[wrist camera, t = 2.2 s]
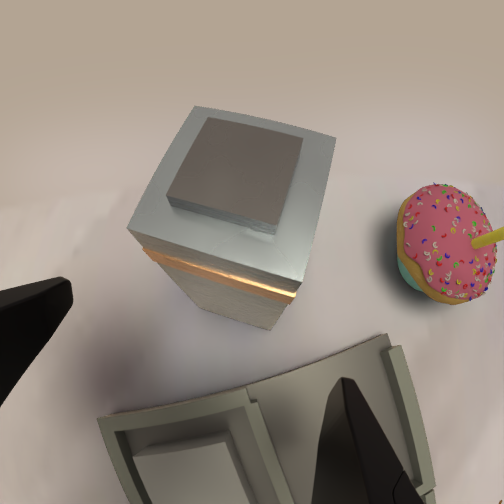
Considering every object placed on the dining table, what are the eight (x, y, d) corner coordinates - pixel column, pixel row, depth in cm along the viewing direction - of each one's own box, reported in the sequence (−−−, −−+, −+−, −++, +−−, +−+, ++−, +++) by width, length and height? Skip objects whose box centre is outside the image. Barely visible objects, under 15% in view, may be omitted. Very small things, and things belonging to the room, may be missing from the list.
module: (270, 331, 20) (307, 278, 7) (198, 308, 20) (116, 219, 7) (291, 262, 21) (342, 125, 9) (223, 241, 22) (191, 92, 9)
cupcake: (468, 302, 20) (575, 252, 9) (388, 327, 20) (506, 284, 8) (440, 210, 23) (518, 127, 12) (360, 219, 23) (430, 111, 11)
